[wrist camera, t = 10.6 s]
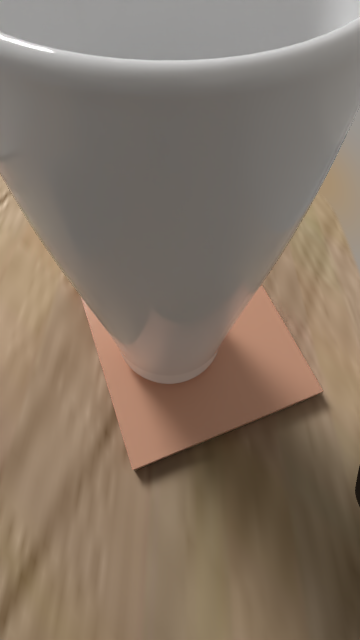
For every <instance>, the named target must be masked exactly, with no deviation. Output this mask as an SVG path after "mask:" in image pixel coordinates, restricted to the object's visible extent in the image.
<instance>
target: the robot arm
mask: <svg viewBox="0 0 360 640" xmlns="http://www.w3.org/2000/svg"><path fill="white" fill-rule="evenodd" d="M355 494H356V498H357V501H358V504H359V506H360V466H359V471H358V477H357V482H356V487H355Z"/></svg>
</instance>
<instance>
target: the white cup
mask: <svg viewBox="0 0 360 640" xmlns="http://www.w3.org/2000/svg"><path fill="white" fill-rule="evenodd" d="M359 107H360V0H0V175H1V176H2V178H3V180H4V182H5V183H6V185H7V187H8V189H9V191H10V192H11V194H12V196H13V197H14V199H15V201H16V202H17V204H18V206H19V207H20V209H21V211H22V212H23V214H24V216H25V217H26V219H27V220H28V222H29V224H30V225H31V227H32V228H33V230H34V231H35V233H36V234H37V236H38V237H39V239H40V240H41V242H42V243H43V245H44V246H45V248H46V249H47V251H48V252H49V254H50V255H51V256H52V258H53V259H54V261H55V262H56V263H57V265H58V266H59V268H60V269H61V270H62V272H63V273H64V275H65V276H66V277H67V279H68V280H69V281H70V283H71V284H72V285H73V287H74V288H75V289H76V291H77V292H78V293H79V295H80V296H81V297H82V299H83V300H84V301H85V303H86V304H87V305H88V307H89V308H90V309H91V311H92V312H93V313H94V315H95V316H96V318H97V319H98V320H99V322H100V323H101V324H102V326H103V327H104V328H105V330H106V331H107V333H108V334H109V335H110V337H111V338H112V339H113V341H114V342H115V344H116V345H117V347H118V348H119V351H120V353H121V355H122V357H123V359H124V360H125V362H126V363H127V364H128V366H129V367H130V368H131V369H132V370H133V371H134V372H136V373H137V374H138V375H140V376H141V377H143V378H145V379H147V380H150V381H152V382H156V383H162V384H176V383H182V382H185V381H188V380H191V379H193V378H195V377H197V376H198V375H200V374H201V373H202V372H204V371H205V370H206V369H207V368H208V367H209V366H210V365H211V363H212V362H213V360H214V359H215V357H216V355H217V353H218V351H219V348H220V346H221V344H222V342H223V341H224V339H225V338H226V336H227V335H228V333H229V332H230V330H231V329H232V327H233V326H234V324H235V323H236V321H237V320H238V318H239V317H240V315H241V314H242V312H243V311H244V309H245V308H246V307H247V305H248V304H249V302H250V301H251V299H252V298H253V296H254V295H255V293H256V292H257V290H258V289H259V288H260V286H261V285H262V283H263V282H264V280H265V279H266V277H267V276H268V274H269V273H270V271H271V270H272V268H273V267H274V265H275V264H276V262H277V261H278V259H279V258H280V256H281V255H282V253H283V252H284V250H285V248H286V247H287V245H288V244H289V242H290V240H291V239H292V237H293V235H294V234H295V232H296V230H297V229H298V227H299V225H300V223H301V222H302V220H303V218H304V216H305V215H306V213H307V211H308V209H309V208H310V206H311V204H312V202H313V200H314V198H315V196H316V195H317V193H318V191H319V189H320V187H321V185H322V183H323V181H324V179H325V178H326V176H327V174H328V172H329V170H330V168H331V166H332V164H333V162H334V160H335V158H336V156H337V154H338V152H339V150H340V147H341V145H342V143H343V141H344V139H345V137H346V135H347V133H348V131H349V129H350V126H351V124H352V122H353V120H354V118H355V116H356V113H357V112H358V110H359Z"/></svg>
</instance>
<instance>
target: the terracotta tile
mask: <svg viewBox="0 0 360 640" xmlns="http://www.w3.org/2000/svg"><path fill="white" fill-rule="evenodd" d="M81 298H82V297H81ZM82 302H83V305H84V308H85V312H86V315H87V319H88V322H89V325H90V329H91V332H92V335H93V339H94V342H95V345H96V349H97V352H98V355H99V359H100V362H101V366H102V369H103V372H104V376H105V379H106V382H107V386H108V389H109V392H110V396H111V399H112V402H113V406H114V409H115V413H116V416H117V419H118V423H119V426H120V429H121V433H122V436H123V439H124V443H125V446H126V449H127V453H128V456H129V460H130V463H131V466H132V470H134V471H135V470H137V469H139V468H142V467H144V466H147V465H149V464H151V463H154V462H156V461H159V460H161V459H164V458H166V457H168V456H171V455H173V454H176V453H178V452H181V451H183V450H185V449H188V448H190V447H193V446H195V445H197V444H200V443H202V442H205V441H207V440H210V439H212V438H214V437H217V436H219V435H222V434H224V433H226V432H229V431H231V430H234V429H236V428H239V427H241V426H243V425H246V424H248V423H251V422H253V421H255V420H258V419H260V418H263V417H265V416H268V415H270V414H272V413H275V412H277V411H280V410H282V409H284V408H287V407H289V406H292V405H294V404H297V403H299V402H301V401H304V400H306V399H309V398H311V397H314V396H316V395H318V394H320V393H321V392H323V389H322V388H321V386H320V384H319V382H318V381H317V379H316V377H315V375H314V374H313V372H312V370H311V369H310V367H309V365H308V363H307V362H306V360H305V358H304V357H303V355H302V353H301V351H300V350H299V348H298V346H297V344H296V343H295V341H294V339H293V338H292V336H291V334H290V332H289V331H288V329H287V327H286V325H285V324H284V322H283V320H282V319H281V317H280V315H279V313H278V312H277V310H276V308H275V307H274V305H273V303H272V301H271V300H270V298H269V296H268V294H267V293H266V291H265V289H264V288H263V286H262V285H261V286H260V288H259V289H258V290H257V292H256V293H255V295H254V296H253V298H252V299H251V301H250V302H249V304H248V305H247V307H246V308H245V309H244V311H243V312H242V314H241V315H240V317H239V318H238V320H237V321H236V323H235V324H234V326H233V327H232V329H231V330H230V332H229V333H228V335H227V336H226V338H225V339H224V341H223V342H222V344H221V346H220V348H219V351H218V353H217V355H216V357H215V359H214V360H213V362H212V363H211V365H210V366H209V367H208V368H207V369H206V370H205V371H204V372H202V373H201V374H200V375H198V376H197V377H195V378H193V379H191V380H188V381H185V382H182V383H176V384H162V383H156V382H152V381H150V380H147V379H145V378H143V377H141V376H140V375H138V374H137V373H136V372H134V371H133V370H132V369H131V368H130V367H129V366H128V364H127V363H126V362H125V360H124V359H123V357H122V355H121V353H120V351H119V348H118V347H117V345H116V344H115V342H114V341H113V339H112V338H111V337H110V335H109V334H108V333H107V331H106V330H105V328H104V327H103V326H102V324H101V323H100V322H99V320H98V319H97V318H96V316H95V315H94V313H93V312H92V311H91V309H90V308H89V307H88V305H87V304H86V303H85V301H84V300H83V299H82Z"/></svg>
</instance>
